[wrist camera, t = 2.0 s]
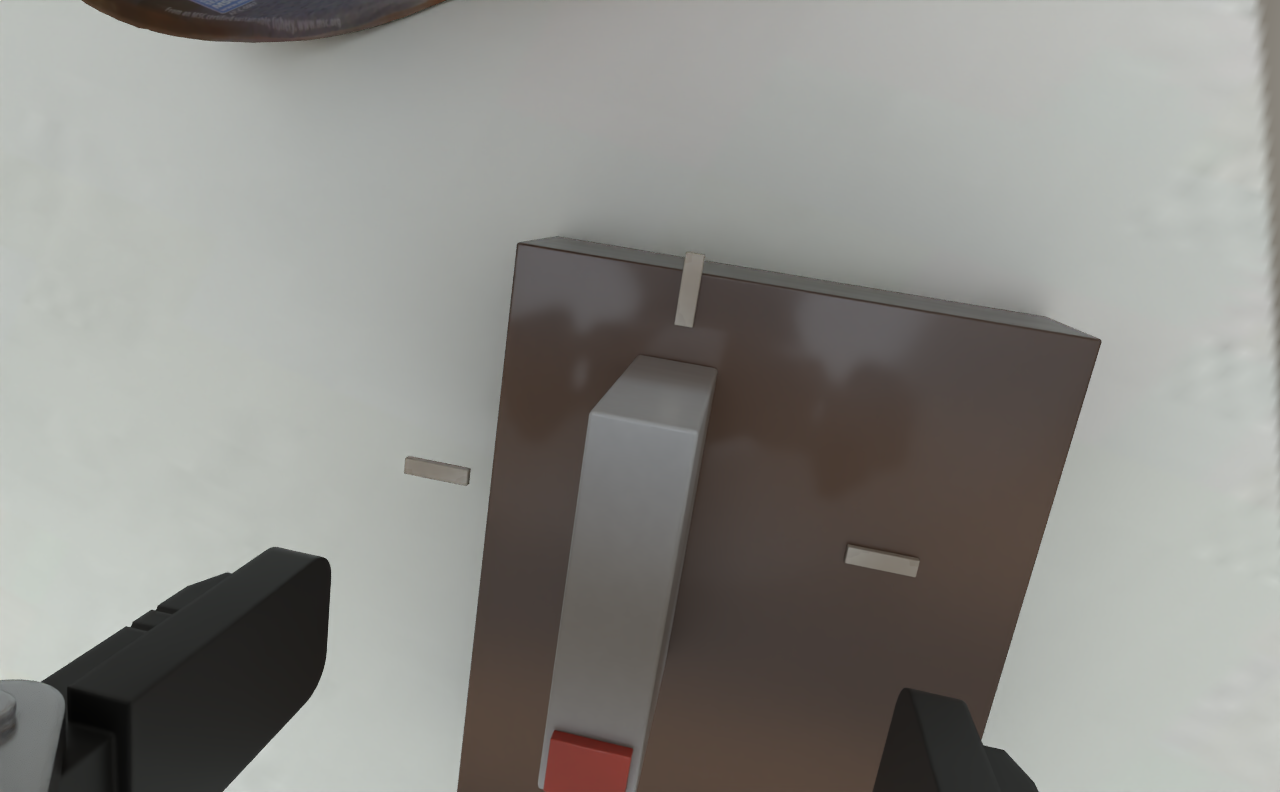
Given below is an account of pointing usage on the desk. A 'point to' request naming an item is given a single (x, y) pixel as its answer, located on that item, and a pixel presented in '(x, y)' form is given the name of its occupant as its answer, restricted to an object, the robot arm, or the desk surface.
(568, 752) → the tap handle
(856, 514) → the panel
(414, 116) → the desk surface
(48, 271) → the desk surface
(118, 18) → the tin
